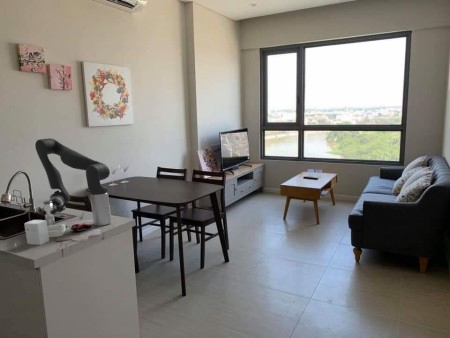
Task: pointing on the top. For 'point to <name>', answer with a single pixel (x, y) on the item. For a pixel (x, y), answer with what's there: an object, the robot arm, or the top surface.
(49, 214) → the glass shaker
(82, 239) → the top surface
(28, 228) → the small box
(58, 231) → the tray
